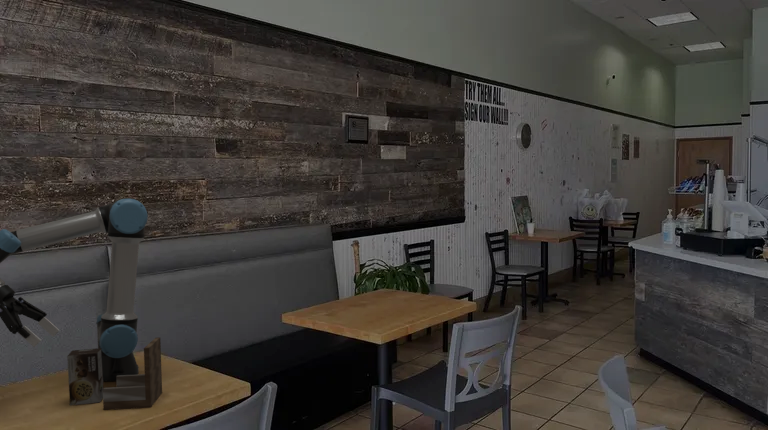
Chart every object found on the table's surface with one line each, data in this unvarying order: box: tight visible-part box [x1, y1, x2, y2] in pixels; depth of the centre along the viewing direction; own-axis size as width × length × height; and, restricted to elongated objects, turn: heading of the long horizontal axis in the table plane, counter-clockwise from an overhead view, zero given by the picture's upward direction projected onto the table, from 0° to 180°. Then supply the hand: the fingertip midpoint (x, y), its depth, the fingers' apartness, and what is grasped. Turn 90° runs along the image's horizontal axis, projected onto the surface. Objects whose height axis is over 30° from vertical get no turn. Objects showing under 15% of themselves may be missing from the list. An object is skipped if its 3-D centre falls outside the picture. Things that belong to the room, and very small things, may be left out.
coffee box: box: [66, 347, 104, 406], centre depth 195 cm, size 9×6×16 cm
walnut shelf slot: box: [102, 337, 163, 411], centre depth 194 cm, size 14×14×18 cm
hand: (47, 338), depth 193 cm, fingers open, 13 cm apart
